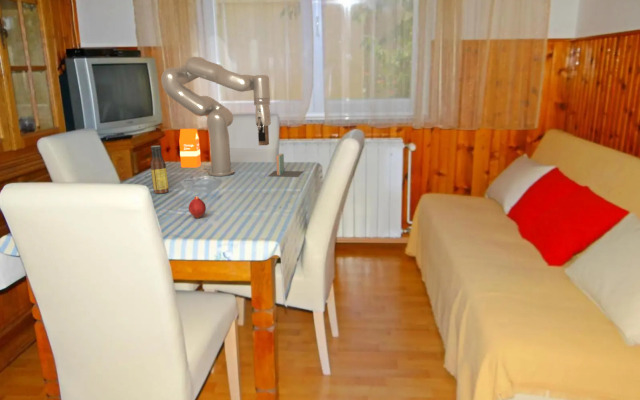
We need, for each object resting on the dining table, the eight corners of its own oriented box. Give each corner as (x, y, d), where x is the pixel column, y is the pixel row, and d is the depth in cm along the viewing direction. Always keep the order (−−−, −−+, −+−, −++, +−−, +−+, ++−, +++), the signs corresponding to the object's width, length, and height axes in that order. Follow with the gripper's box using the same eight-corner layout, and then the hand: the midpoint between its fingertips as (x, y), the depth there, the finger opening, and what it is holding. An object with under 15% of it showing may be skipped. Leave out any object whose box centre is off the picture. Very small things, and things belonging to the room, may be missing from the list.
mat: (267, 178, 247) (267, 176, 246) (274, 172, 260) (274, 170, 260) (298, 178, 244) (298, 177, 244) (304, 172, 258) (304, 171, 257)
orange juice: (197, 167, 276) (194, 129, 271) (181, 167, 276) (178, 129, 271) (201, 164, 283) (198, 127, 278) (185, 164, 283) (182, 128, 278)
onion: (190, 216, 184) (189, 194, 182) (207, 215, 185) (205, 193, 183) (188, 220, 179) (186, 198, 177) (205, 220, 179) (203, 197, 177)
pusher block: (258, 145, 249) (257, 124, 247) (261, 144, 253) (260, 123, 251) (266, 145, 249) (265, 124, 246) (268, 144, 253) (268, 123, 250)
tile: (277, 174, 250) (276, 156, 247) (280, 171, 257) (280, 153, 255) (280, 174, 249) (279, 156, 247) (284, 171, 257) (283, 153, 255)
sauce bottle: (171, 191, 222) (168, 145, 217) (163, 194, 216) (158, 147, 212) (159, 190, 224) (154, 144, 219) (149, 193, 219) (145, 146, 214)
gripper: (264, 103, 237) (266, 142, 242) (274, 100, 253) (275, 138, 258) (248, 103, 239) (250, 142, 243) (259, 100, 255) (260, 138, 259)
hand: (263, 139), depth 250 cm, fingers closed on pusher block, 4 cm apart
